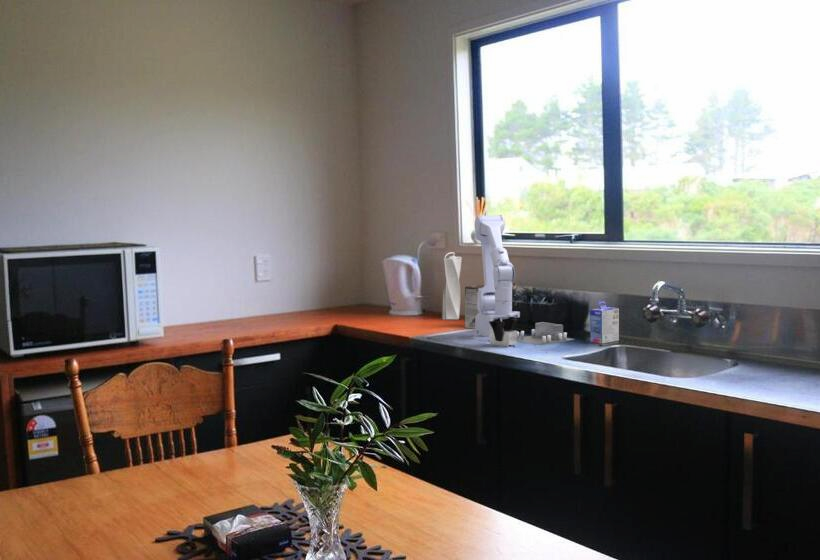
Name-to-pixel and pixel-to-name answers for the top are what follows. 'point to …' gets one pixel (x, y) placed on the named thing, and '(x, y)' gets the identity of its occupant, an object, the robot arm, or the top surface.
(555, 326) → the seated drive
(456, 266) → the skyscraper
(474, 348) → the top surface
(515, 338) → the grey rectangular block
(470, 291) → the coffee box
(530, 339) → the tray
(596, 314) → the ink cartridge box
